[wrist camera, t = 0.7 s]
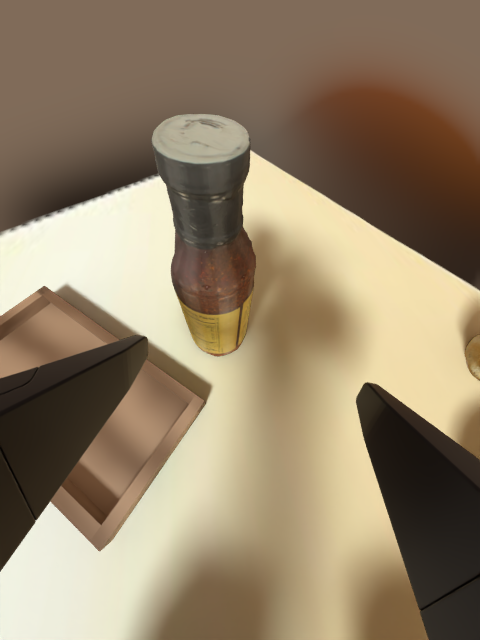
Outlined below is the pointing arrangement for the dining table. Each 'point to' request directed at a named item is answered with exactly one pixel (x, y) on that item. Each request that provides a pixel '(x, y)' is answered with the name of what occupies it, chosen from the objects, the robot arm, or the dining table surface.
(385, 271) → the dining table surface
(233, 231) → the sauce bottle
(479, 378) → the chocolate bunny
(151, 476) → the walnut holder
